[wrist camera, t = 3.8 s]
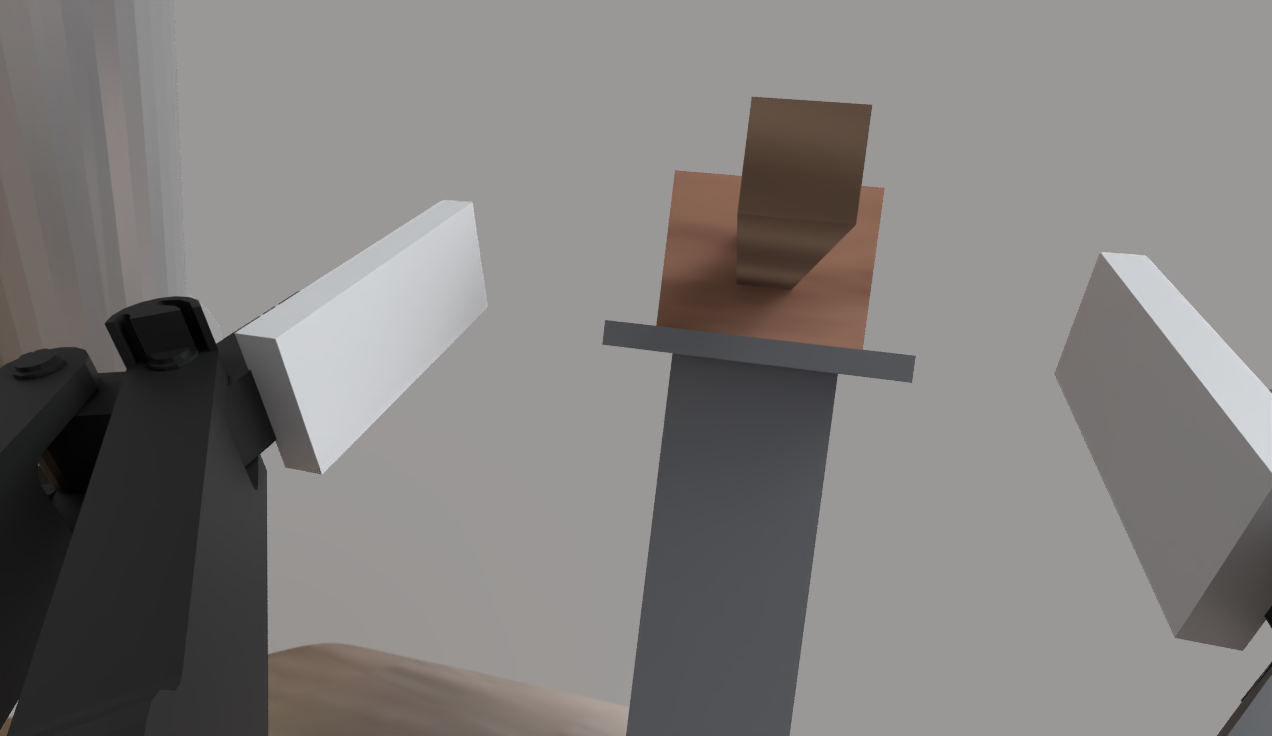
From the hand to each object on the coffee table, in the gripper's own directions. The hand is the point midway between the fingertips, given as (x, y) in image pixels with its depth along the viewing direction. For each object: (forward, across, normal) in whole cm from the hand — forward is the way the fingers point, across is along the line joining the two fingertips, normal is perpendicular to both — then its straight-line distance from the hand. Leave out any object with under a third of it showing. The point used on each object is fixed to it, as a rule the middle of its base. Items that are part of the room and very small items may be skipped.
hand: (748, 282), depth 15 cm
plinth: (+2, -1, -32) cm, 32 cm away
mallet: (+9, 0, -6) cm, 11 cm away
